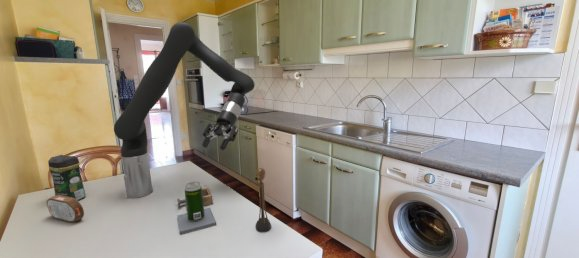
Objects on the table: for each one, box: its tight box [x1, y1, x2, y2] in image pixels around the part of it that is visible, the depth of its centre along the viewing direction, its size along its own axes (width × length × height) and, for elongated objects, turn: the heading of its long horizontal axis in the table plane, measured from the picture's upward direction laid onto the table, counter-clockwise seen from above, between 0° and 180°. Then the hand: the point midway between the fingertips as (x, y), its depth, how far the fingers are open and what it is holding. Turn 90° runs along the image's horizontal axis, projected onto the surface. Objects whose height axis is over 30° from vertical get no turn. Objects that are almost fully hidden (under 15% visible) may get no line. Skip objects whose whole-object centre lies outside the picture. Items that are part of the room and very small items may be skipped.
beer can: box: [184, 181, 205, 222], centre depth 86 cm, size 5×5×12 cm
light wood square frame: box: [176, 186, 214, 207], centre depth 100 cm, size 12×9×4 cm
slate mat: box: [176, 207, 217, 235], centre depth 87 cm, size 11×11×1 cm
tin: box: [46, 194, 85, 223], centre depth 90 cm, size 15×3×8 cm, turn 71°
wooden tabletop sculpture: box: [254, 167, 272, 233], centre depth 80 cm, size 6×5×20 cm
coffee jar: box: [47, 154, 87, 202], centre depth 105 cm, size 10×8×19 cm
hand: (212, 148), depth 102 cm, fingers open, 8 cm apart
